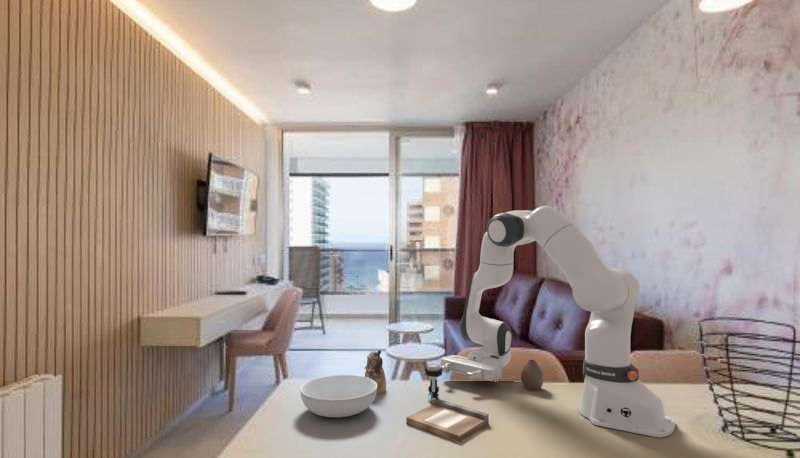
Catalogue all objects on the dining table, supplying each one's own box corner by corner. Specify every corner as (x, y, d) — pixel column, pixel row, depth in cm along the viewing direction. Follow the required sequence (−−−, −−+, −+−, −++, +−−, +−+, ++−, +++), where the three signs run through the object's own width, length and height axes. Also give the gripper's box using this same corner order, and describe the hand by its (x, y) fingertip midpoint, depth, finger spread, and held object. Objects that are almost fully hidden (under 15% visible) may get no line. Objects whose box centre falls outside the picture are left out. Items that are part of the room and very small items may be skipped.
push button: (442, 405, 125) (443, 370, 125) (424, 404, 126) (424, 369, 126) (442, 397, 132) (442, 363, 132) (424, 396, 132) (424, 362, 132)
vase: (546, 387, 141) (546, 359, 141) (540, 394, 135) (540, 365, 135) (524, 383, 144) (524, 356, 144) (518, 389, 138) (518, 361, 139)
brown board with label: (488, 423, 113) (488, 414, 113) (459, 442, 103) (459, 431, 103) (437, 407, 123) (437, 398, 124) (406, 423, 113) (406, 413, 113)
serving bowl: (365, 393, 135) (365, 371, 135) (387, 420, 115) (387, 394, 115) (295, 402, 127) (295, 378, 128) (305, 432, 108) (306, 404, 108)
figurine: (358, 389, 138) (358, 351, 138) (376, 384, 142) (376, 347, 143) (372, 396, 132) (373, 355, 133) (390, 390, 137) (390, 351, 137)
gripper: (453, 348, 155) (429, 356, 145) (507, 359, 142) (485, 369, 131) (453, 366, 155) (429, 376, 145) (507, 379, 142) (485, 390, 131)
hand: (456, 372), depth 138 cm, fingers open, 8 cm apart
